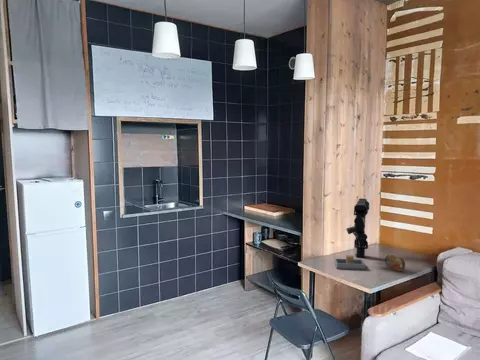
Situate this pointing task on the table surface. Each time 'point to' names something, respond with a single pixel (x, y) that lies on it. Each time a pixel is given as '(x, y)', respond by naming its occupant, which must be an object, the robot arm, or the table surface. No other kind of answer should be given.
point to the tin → (395, 263)
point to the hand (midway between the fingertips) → (359, 246)
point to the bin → (355, 266)
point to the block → (349, 259)
